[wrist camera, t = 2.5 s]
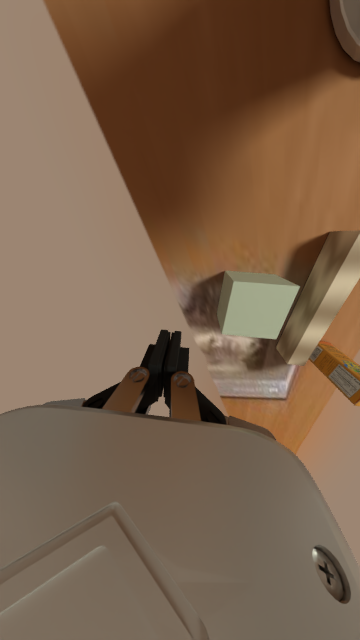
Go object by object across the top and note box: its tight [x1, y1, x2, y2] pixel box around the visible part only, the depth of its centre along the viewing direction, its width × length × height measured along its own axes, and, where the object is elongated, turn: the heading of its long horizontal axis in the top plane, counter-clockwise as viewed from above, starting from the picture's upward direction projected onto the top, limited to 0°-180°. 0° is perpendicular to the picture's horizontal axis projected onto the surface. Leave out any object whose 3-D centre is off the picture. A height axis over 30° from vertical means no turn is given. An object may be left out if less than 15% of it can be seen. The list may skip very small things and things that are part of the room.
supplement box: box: [309, 341, 360, 406], centre depth 22 cm, size 3×3×10 cm
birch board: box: [276, 230, 360, 366], centre depth 21 cm, size 18×2×4 cm, turn 176°
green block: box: [217, 271, 300, 339], centre depth 21 cm, size 7×7×6 cm
